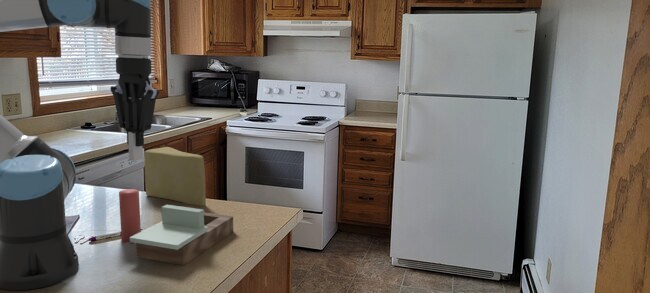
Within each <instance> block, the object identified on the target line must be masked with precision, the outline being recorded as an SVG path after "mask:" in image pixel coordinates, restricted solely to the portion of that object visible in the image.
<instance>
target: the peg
mask: <svg viewBox="0 0 650 293" xmlns="http://www.w3.org/2000/svg"><path fill="white" fill-rule="evenodd" d="M118 196H119V198H118V200H119V201H118V203H119V217H120V233H121V234H120V236H121V238H120V239H121V242H122V243H125V244H133V243H134V242H130V237H131V236H133V235H135V234H137V233H139V232H141V229H142V228H141V226H142V225H141V212H140V211H141V208H140V207H141V206H140V190H139V189H135V188H134V189H133V188H130V189H129V188H128V189H122V190H119V191H118Z"/></svg>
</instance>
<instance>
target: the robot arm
mask: <svg viewBox="0 0 650 293" xmlns="http://www.w3.org/2000/svg"><path fill="white" fill-rule="evenodd" d="M151 24H152V6H151V0H0V33H3V32H10V31H13V32H14V31H19V30H30V29H40V28H41V29H42V28H50V27H52V28H54V27H62V26H63V27H64V26H66V27H72V28H75V27H81V28H82V27H83V28H101V29H102V28H103V29H104V28H105V29H113V30H114V45H115V46H114V47H115V48H114V49H115V52H114V54H115V55H118V57H116V58H115V73H116V74H118V75H119V76H118V81H117V82H118V83H116V85H114V86H113V85H112V86H110V92H111V94H112V96H113V99H114V105H115V110H116V115H117V120H118V124H119V128H121V129H124V130H125V132H126V143H127V145H128V161H132V162H135V161H139V160H144V159H143V158H144V152H143V150H144V149H143V146H144V144H145V132H146V131H150V130H151V129H152V126H153V125H152V124H153V117H154V112H155V109H156V108H155V107H156V100H157V98H158V96H159V94H160V91H159V89H155V88H154V87H152V86H151V80H150V76H151V75H152V73H153V72H152V71H153V70H152V59H151V58H149V57H151V56H152V25H151ZM76 179H77V170H76V166H75V164H74V162H73V159H72V158H71V157H70V156H69V155H68V154H66V152H64V151H62V150H60V149H57V148H54V147H51V146H50V145H48V144H47V143H46V142H45V141H44V140H42V139H41V138H40V137H39V136H37V135H25V133H23V132H22V131H21V130H19V129H18V128H17V127H16V126H15V125H14V124H12V122H10V121H8V119H7V118H5V117H4V116H3V115H1V114H0V289H1V290H4V291H28V290H35V289H36V290H37V289H40V288H45V287H49V286H53V285H55V284H58V283H60V282H63V281H65V280H68V279H70V277H72V276H73V275H75V274H76V273H77V271H78V270H79V266H80V265H79V256H78V253H77V252H76V250H75V247H74V245H73V243H72V241H71V239H70V237H69V234H68V232H67V220H66V206H65V200H66V198H67V196H68V195H69V194H70V193H71V191H72V190H73V188H74V186H75V184H76Z"/></svg>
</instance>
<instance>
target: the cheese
mask: <svg viewBox="0 0 650 293" xmlns="http://www.w3.org/2000/svg"><path fill="white" fill-rule="evenodd" d="M143 158H144V159H143V160H144V178H145V180H144V182H145V183H144V184H145V195H146V196H147V197H154V198H158V199H159V198H160V199H165V200H171V201H176V202H179V203H184V204H188V205H192V206H197V207H205V206H206V204H207V203H206V202H207V199H206V195H207V194H206V172H205V171H206V170H205V159H204V156H203V155H201V154H196V153H195V154H194V153H189V152H184V151H181V150H178V149H175V148H173V147H170V146H164V147H159V148H152V149H147V150H145V151H144V152H143Z"/></svg>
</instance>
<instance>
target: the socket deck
mask: <svg viewBox="0 0 650 293" xmlns="http://www.w3.org/2000/svg"><path fill="white" fill-rule="evenodd" d="M204 226H206V227H208V231H207V232H205V233H204V234H202V235H201V236H199V237H197V238H196V239H194V240H192V241H191V242H189V243H188V244H186V245H184V246H183V247H181V248H179V249H178V250H176V249H170V248H164V247H158V246H152V245H146V244H140V243H135V245H136V247H135V248H136V250H135V251H136V258H141V259H146V260H152V261H158V262H163V263H169V264H173V265H180V266H185V265H186V264H187V263H189V262H191V261H193V260H194V259H195V258H196V257H198V256H199V255H201V254H202V253H203V252H205V251H206V250H208V249H209V248H211V247H212V246H214V245H216V244H217V243H218V242H220V241H221V240H222V239H224V238H226V237H227V236H229V235H230V234H232V233H233V232H234V216H233V215H227V214H226V215H225V214H217V213H212V212H205V211H204Z"/></svg>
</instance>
